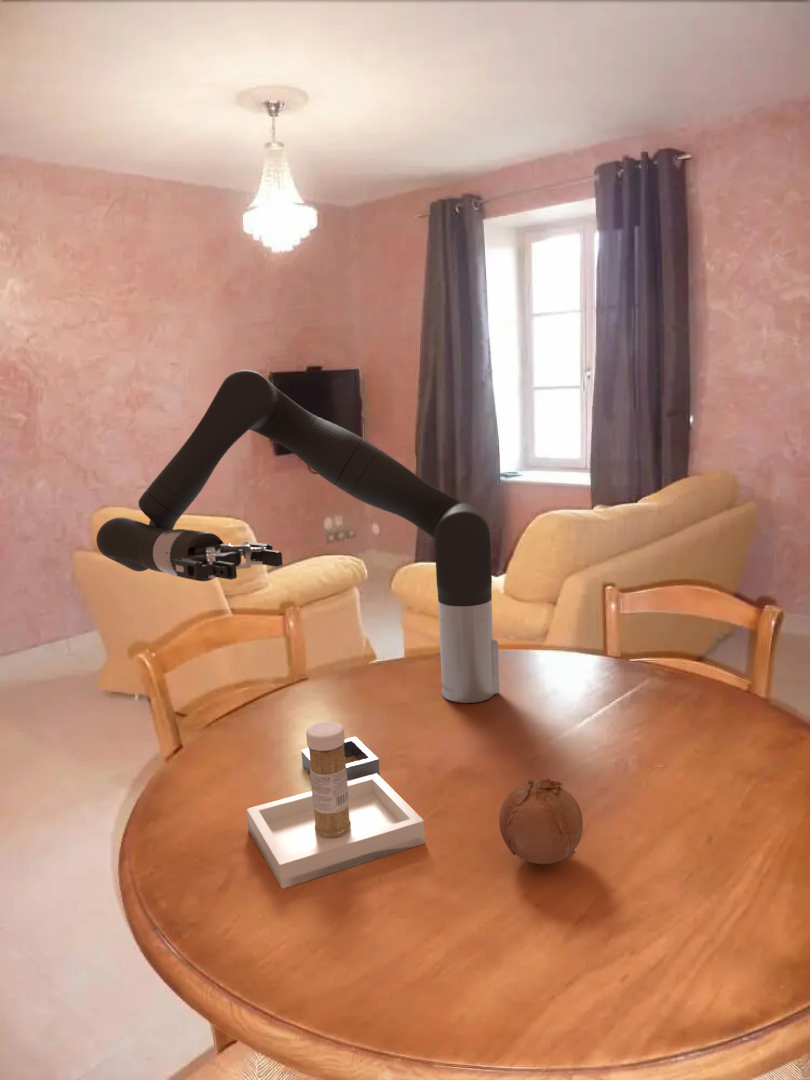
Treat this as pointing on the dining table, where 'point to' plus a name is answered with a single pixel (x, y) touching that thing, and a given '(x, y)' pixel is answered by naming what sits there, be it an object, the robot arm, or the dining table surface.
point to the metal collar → (355, 770)
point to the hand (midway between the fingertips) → (258, 565)
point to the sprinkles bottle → (328, 778)
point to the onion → (541, 822)
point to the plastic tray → (307, 855)
